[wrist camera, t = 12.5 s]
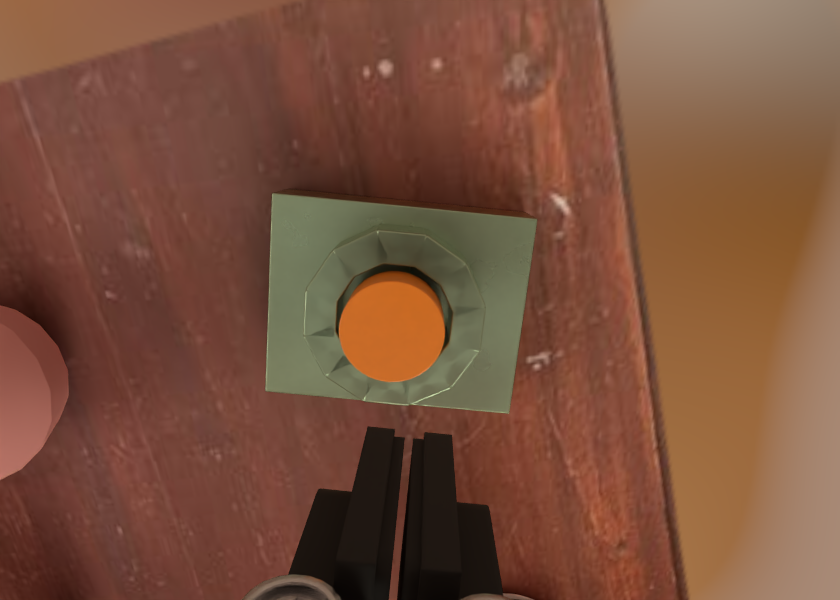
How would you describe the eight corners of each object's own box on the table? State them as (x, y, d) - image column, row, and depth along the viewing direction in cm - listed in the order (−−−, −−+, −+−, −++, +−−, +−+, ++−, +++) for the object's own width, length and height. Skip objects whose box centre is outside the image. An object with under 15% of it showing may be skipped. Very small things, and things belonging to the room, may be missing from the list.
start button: (448, 275, 21) (450, 286, 19) (437, 369, 22) (439, 387, 20) (348, 265, 21) (341, 275, 19) (342, 360, 22) (335, 377, 20)
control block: (525, 211, 24) (548, 224, 20) (500, 388, 26) (516, 434, 22) (288, 188, 24) (257, 196, 20) (280, 367, 26) (251, 410, 22)
